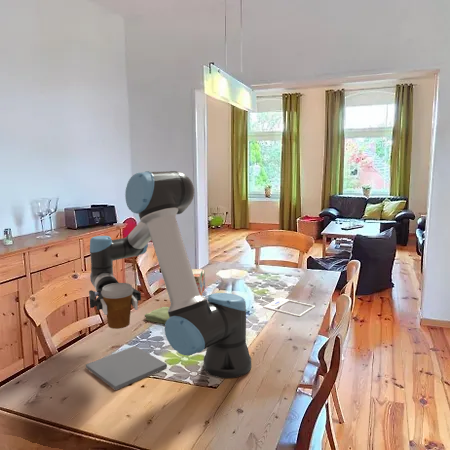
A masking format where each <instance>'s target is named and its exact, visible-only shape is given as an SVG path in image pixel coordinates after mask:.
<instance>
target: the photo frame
mask: <svg viewBox="0 0 450 450" xmlns="http://www.w3.org/2000/svg"><path fill="white" fill-rule="evenodd" d="M289 302H290V303H294V304H298V305H301V306H302V305H303V306H307V307H309V308H308V309H307V310H305V311H303V312H301V313H300V314H297V313H294V312H293V313H292V312H289V311H285V310H281V309H279V308H281V307H283V306H284V305H286V304H288V303H289ZM262 308H263V309H268V310H271V311H274V312H275V311H276V312H278V313H283V314H287V315H291V316H295V317H299V318H300V317H303V316H304V315H305V314H307V313H309V312H310V311H312V310H314V308H316V305H314V304H313V305H312V304H310V303H309V304H308V303H305V302H300V301H297V300H291V299H287V298H283V297H279V298H277V299H275V300H273V301H271V302H269V303H267V304H265V305H263V306H262Z"/></svg>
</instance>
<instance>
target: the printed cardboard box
mask: <svg viewBox="0 0 450 450" xmlns="http://www.w3.org/2000/svg"><path fill="white" fill-rule="evenodd" d="M191 269H192V272H193V275H194V278H195V281H196V285H197V288H198V291H199V294H200V295H201V296H203V294H202V293H204V291H205V289H206V273H205V272H206V271H205V270H204V269H203V268H202V269H201V268H200V269H199V268H197V269H196V268H191Z"/></svg>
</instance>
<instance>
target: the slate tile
mask: <svg viewBox="0 0 450 450" xmlns="http://www.w3.org/2000/svg"><path fill="white" fill-rule="evenodd" d="M167 366H168V365H167V363H166V362H164V361H163V360H161V359H159V358H157V357H156V356H154V355H151V354H150V353H149V352H147V351H145V350H144V349H142V348H140V347H138V346H136V345H134V346H131V347H129V348H125V349H123V350H120V351H117V352H115V353H112V354H109V355H107V356H104V357H102V358H99V359H97V360H94V361H92V362H91V361H90V362H89V363H86V364H85V369H86V370H88V371H89V372H91V373H92V374H93V375H94V376H96V377H97V378H98V379H100V380H101V381H103V382H104V383H105V384H106V383H107V384H106V385H108V387H110V388H111V389H113V390H115V391H118V390H120V389H123V388H124V387H126V386H128V385H131V384H133V383H135V382H137V381H139V380H142V379H144V378H146V377H149V376H151V375H153V374H155V372H156V373H158V372H159V371H162V370H164V368H165V369H167V368H168V367H167ZM166 367H167V368H166ZM157 371H158V372H157ZM152 373H153V374H152ZM150 374H151V375H150ZM148 375H149V376H148Z"/></svg>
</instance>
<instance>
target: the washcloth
mask: <svg viewBox="0 0 450 450" xmlns="http://www.w3.org/2000/svg"><path fill="white" fill-rule="evenodd" d="M169 307H170V306H169ZM169 307H168V306H162V307H159V308H157V309H153V310H152V311H150V312H149V313H145V314H144V318H146V319H145V321H148V322H153V323H158V324H162V325H165V323H166V321H167V320H168V318H170V317H169V314H168V309H169Z"/></svg>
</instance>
